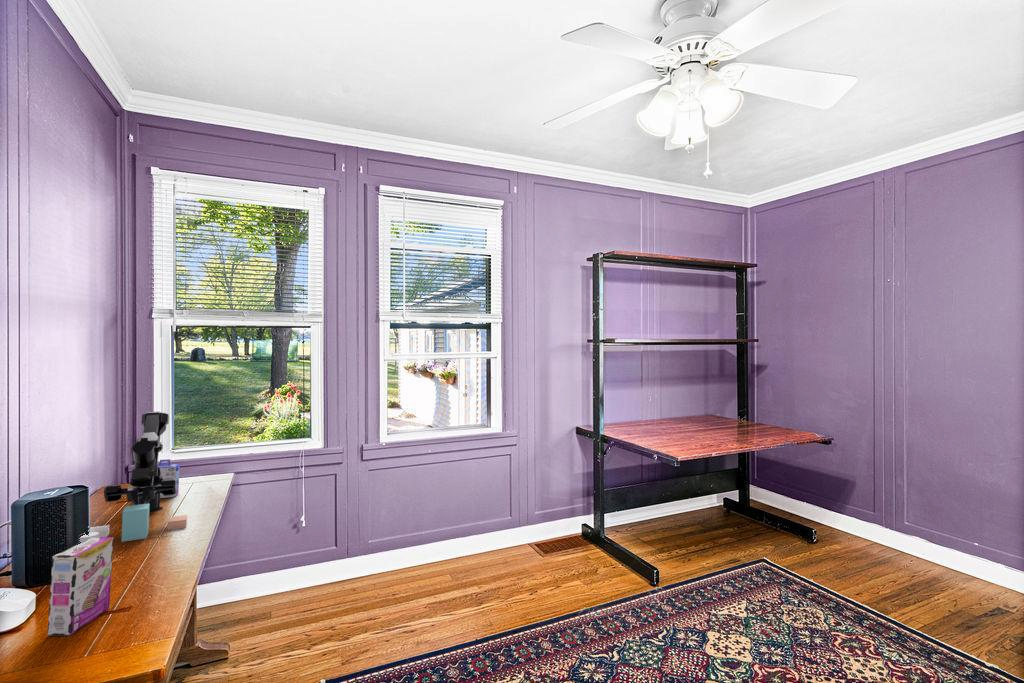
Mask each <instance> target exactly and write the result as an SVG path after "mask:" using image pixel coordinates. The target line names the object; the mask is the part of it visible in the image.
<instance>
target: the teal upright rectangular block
mask: <svg viewBox="0 0 1024 683" xmlns="http://www.w3.org/2000/svg"><path fill="white" fill-rule="evenodd" d="M149 508H150V503H149V504H140V505H133V504H132V505H126V506H125V507H124V508H123V511H122V515H121V516H122V521H121V543H123V542H129V541H137V540H143V539H147V538H148V535H149V533H150V532H149V530H150V512H149Z"/></svg>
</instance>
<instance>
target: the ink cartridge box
mask: <svg viewBox="0 0 1024 683" xmlns="http://www.w3.org/2000/svg"><path fill="white" fill-rule="evenodd" d="M158 462H159V463H158V464H157V466H158V467H159V468H160V471H161V477H163V479H164V480H171V479H174V480H176V494H174V495H167V496H164V495H163V494H162V493H161V494H160V499H161V498H162V499H163V498H164V499H165V498H175V497H176V496H178V495H179V493H180V492H179V490H180V463H177V464H171V458H169V459H168V458H167V459H159V461H158Z"/></svg>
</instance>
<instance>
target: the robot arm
mask: <svg viewBox="0 0 1024 683" xmlns="http://www.w3.org/2000/svg"><path fill="white" fill-rule="evenodd" d="M169 419H170V417H169V413H166V412H162V411H147V412H145V413H144V414H142V415H141V421H140V422H141V424H140V425H142V426H143V430H142V434H141V435H140V436H138V437H137V438H136V441H135V443H133V444H132V447H131V450H130V452H131V454H132V455H133V462H134V466H133V467H134V468H133V469H131V475H130V482H129V484H130V486H127V487H125V488H124V487H123V488H122V484H110V485H106V487H105V488H103V495H104V500H105V502H106V503H111V502H119V501H120V500H121V499H122V497H123V496H126V501H127V502H129V503H130V502H131V504H132V505H140V504H149V503H150V508H149V513H153V512H156V511H158V510H163V509H164V508H163V506H161V498H160V494H161V493H162V494H163V495H164V496H167V495H174V494H176V480H174V479H171V480H164V479H163V477H161V471H160V468H159V467H158V465H159V463H158V462H159V453H161V452H162V450H163V448H164V445H163V444H162V442H161V436H162V435H163V434H164V433H165V432H166V430H167V426H168V425H169V423H170V420H169Z"/></svg>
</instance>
